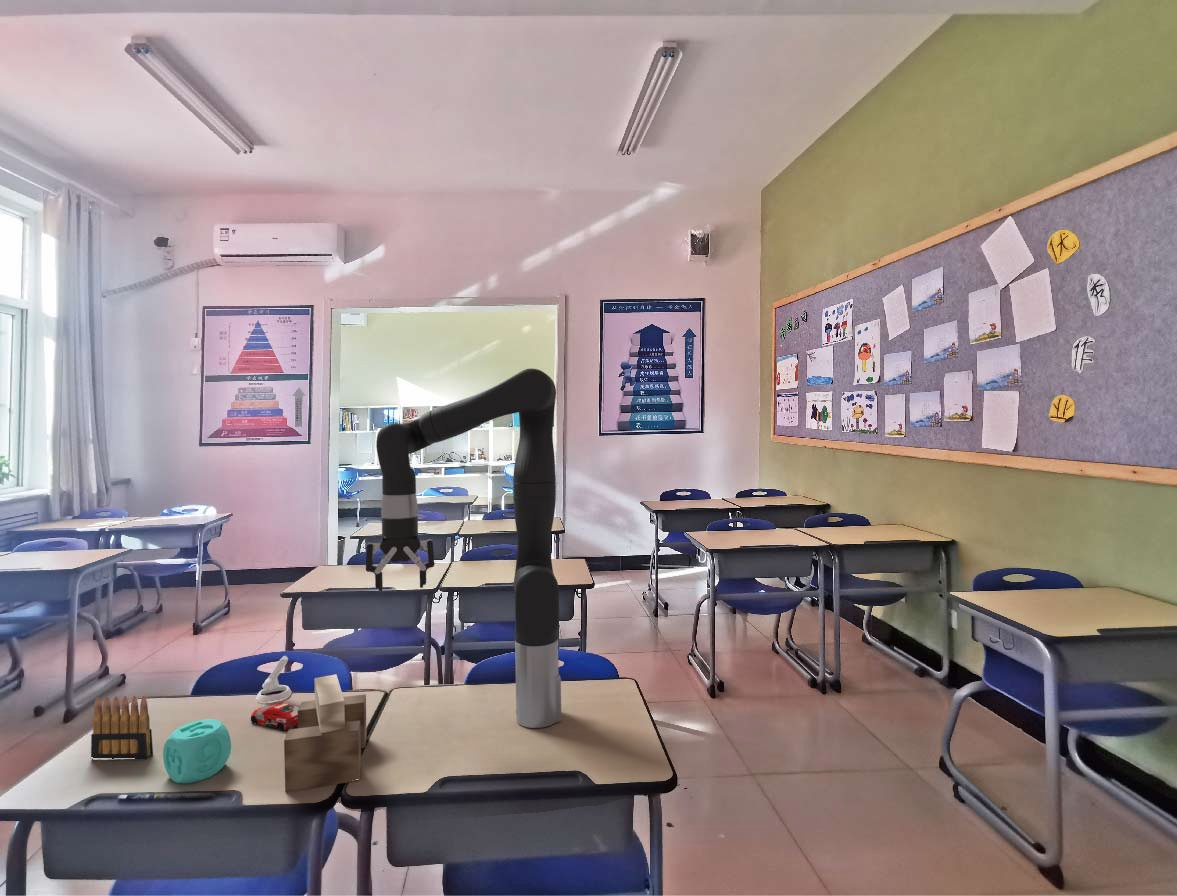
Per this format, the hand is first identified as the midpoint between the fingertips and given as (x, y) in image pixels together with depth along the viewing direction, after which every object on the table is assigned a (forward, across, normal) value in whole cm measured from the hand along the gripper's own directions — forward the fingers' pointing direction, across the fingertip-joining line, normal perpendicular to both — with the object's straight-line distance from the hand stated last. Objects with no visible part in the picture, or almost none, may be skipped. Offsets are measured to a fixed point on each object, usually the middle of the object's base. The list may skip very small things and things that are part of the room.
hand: (401, 588), depth 132 cm
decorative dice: (+28, +36, +12) cm, 47 cm away
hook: (+28, +30, -20) cm, 46 cm away
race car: (+29, +26, -5) cm, 39 cm away
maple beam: (+19, +13, +16) cm, 28 cm away
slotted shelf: (+28, +13, +16) cm, 35 cm away
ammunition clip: (+28, +52, +2) cm, 59 cm away
